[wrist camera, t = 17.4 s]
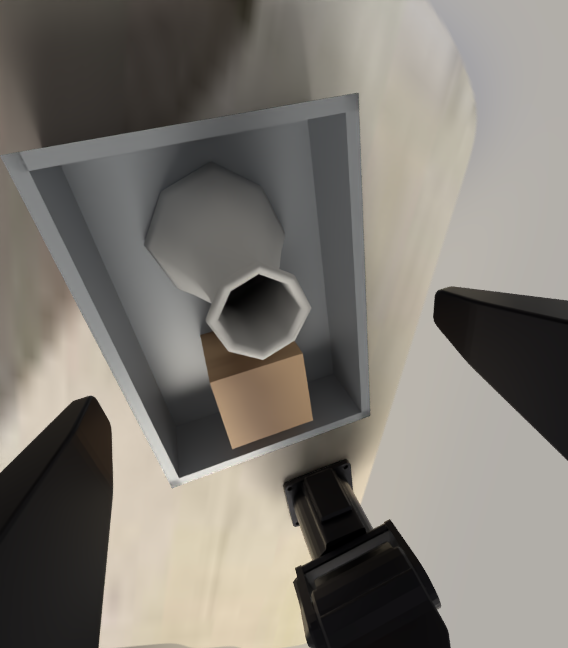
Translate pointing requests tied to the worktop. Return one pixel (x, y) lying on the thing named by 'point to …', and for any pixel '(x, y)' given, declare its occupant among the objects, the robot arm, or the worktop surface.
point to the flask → (229, 259)
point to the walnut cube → (257, 390)
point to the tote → (187, 309)
